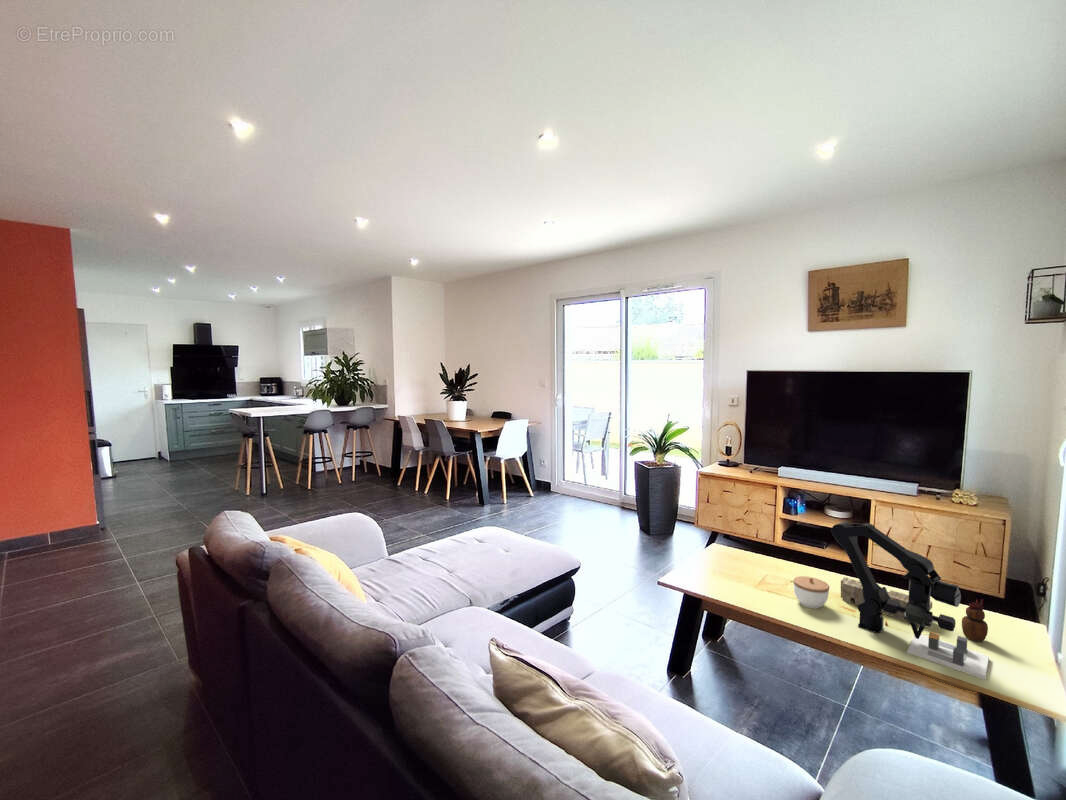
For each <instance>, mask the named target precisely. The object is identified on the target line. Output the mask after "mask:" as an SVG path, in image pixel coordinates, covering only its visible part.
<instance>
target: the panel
mask: <svg viewBox="0 0 1066 800" xmlns="http://www.w3.org/2000/svg"><path fill="white" fill-rule="evenodd" d="M928 644H929V635H924V634H921V635H920V637H919V639H917V638H915V635H914V634H913V637H912V639H911V641H910V643H909V646H908V648H907V653H908V654H910V655H913V656H916V657H919V658H921V659H925V660H928V661H931V662H934V663H936V664H940V665H942V666H945V667H947V668H950V669H954V670H956V671H959V672H962V673H966V674H968V675H971V676H974V677H977V678H980V679H981V680H982V679H983V680H986V676H987V672H988V665H989V660H990V659H989V658H990V655H987V654H984V653H981V652H978V651H974V650H971V649H968V638H967V637H963V636H960V635H957V637H956V644H953V643H949V642H947V641H943V640H940V639H939V648H938V650H935V649H932V648H929V647H928Z"/></svg>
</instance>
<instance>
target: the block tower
mask: <svg viewBox="0 0 1066 800" xmlns="http://www.w3.org/2000/svg"><path fill="white" fill-rule="evenodd" d="M887 593H888V595H889V596H890V597H891V598H890V600H894V601H897V602H900V604H901V606H902V607H906V606H907V604H908V599H909V594H906V593H902V592H898V591H895V590H891V589H890V591H887ZM840 598H842V601H843V602H846V603H850V604H851V603H852V602H853V601H854V605H856V606H857V605H859V604H861V603H863V602H864V598H863V587H862V584H861V582H860V580H856V579H852V578H849V577H847V576H844V577H843V578H842V579H840ZM932 608H933V601H932V600H930V611H931V610H932ZM881 612H882V615H883V614H884V615H887V616H890V617H894V618H896V619H900V620H901V621H902V620H903V621H905V622H908V621H907V620H905V619H904V615H905V614H904V613H903V612H900V611H897V613H895V614H892V613H889V612H886V611H884V610H883V611H881ZM917 625H918V626H919V624H918V623H917Z"/></svg>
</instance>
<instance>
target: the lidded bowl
mask: <svg viewBox="0 0 1066 800" xmlns="http://www.w3.org/2000/svg"><path fill="white" fill-rule="evenodd" d="M829 591H830V585H829V584H828V583H827V582H826V581H823V580H822V579H819V578H816V577H812V576H806V575H805V576H802V575H801V576H795V577H794V578H793V593H794V595H795V597H796V599H797V600H798V601H799V602H800V604H801V605H802V606H804V607H806V608H808V609H809V608H810V609H815V610H817V609H820V608H821V607H823V606H825V604H826V603H827V601H828V598H829V593H830V592H829Z"/></svg>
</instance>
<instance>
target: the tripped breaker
mask: <svg viewBox="0 0 1066 800" xmlns="http://www.w3.org/2000/svg"><path fill="white" fill-rule="evenodd" d="M940 635H941V634H940V633H936V632H935V631H934V632H933V631H929V634H928V637H929V644H928V647H929V648H932V649H935V650H938V648H939V640H940Z"/></svg>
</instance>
